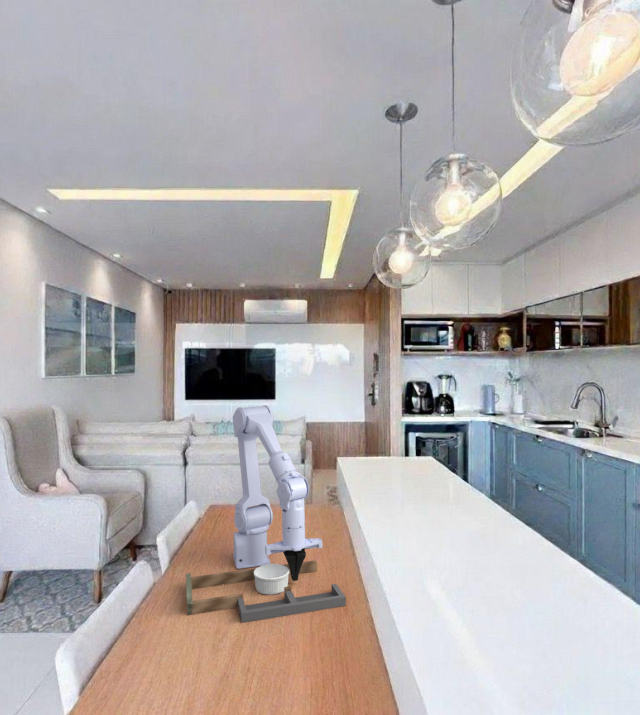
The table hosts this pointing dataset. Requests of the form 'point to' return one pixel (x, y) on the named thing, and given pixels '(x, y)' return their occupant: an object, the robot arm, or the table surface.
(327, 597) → the grey e-shaped block
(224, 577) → the walnut channel
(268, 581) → the ramekin
